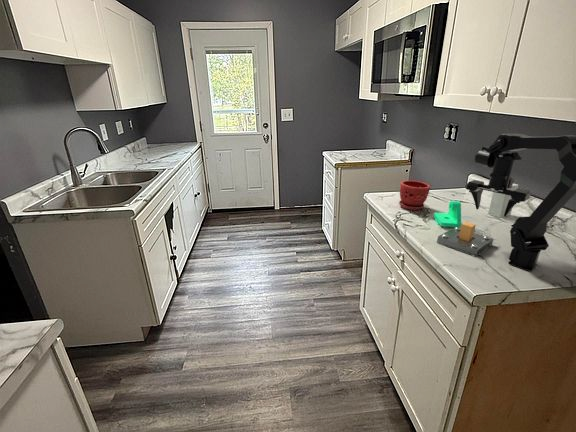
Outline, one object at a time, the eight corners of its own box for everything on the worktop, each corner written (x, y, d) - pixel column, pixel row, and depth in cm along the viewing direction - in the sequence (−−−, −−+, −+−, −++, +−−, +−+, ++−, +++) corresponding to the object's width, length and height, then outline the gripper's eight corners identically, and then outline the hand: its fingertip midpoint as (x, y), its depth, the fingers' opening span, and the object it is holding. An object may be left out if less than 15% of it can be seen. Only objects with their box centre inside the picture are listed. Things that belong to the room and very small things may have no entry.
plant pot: (416, 213, 146) (421, 189, 141) (392, 206, 155) (395, 183, 151) (431, 207, 154) (435, 184, 149) (407, 200, 163) (410, 178, 158)
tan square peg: (470, 244, 117) (475, 224, 114) (466, 246, 115) (471, 227, 112) (461, 240, 120) (465, 221, 117) (457, 243, 118) (461, 224, 115)
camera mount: (432, 217, 142) (436, 196, 138) (450, 218, 141) (455, 197, 137) (440, 228, 131) (445, 205, 127) (459, 229, 130) (465, 206, 126)
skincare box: (499, 218, 141) (508, 186, 135) (486, 214, 146) (494, 183, 140) (510, 215, 144) (519, 184, 139) (497, 211, 149) (505, 180, 144)
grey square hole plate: (491, 244, 117) (494, 237, 116) (476, 256, 109) (478, 248, 107) (453, 232, 127) (455, 225, 126) (436, 242, 119) (438, 234, 117)
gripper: (541, 172, 107) (528, 214, 112) (482, 163, 120) (473, 201, 126) (531, 177, 100) (517, 222, 106) (469, 167, 113) (460, 207, 119)
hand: (490, 212), depth 114 cm, fingers open, 9 cm apart
